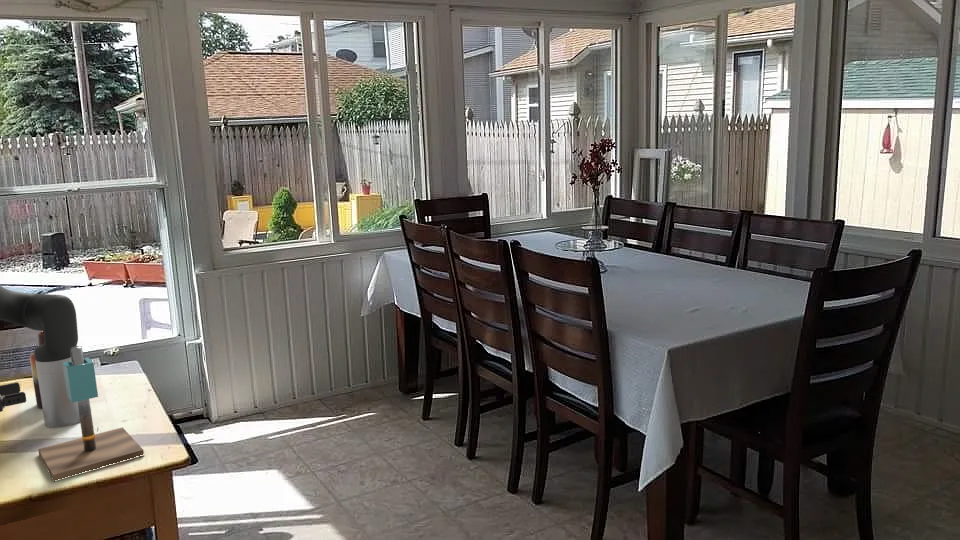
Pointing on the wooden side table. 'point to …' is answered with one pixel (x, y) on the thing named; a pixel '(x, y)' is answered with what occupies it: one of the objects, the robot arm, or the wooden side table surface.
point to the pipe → (84, 407)
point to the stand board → (89, 453)
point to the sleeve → (80, 380)
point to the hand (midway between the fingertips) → (22, 391)
